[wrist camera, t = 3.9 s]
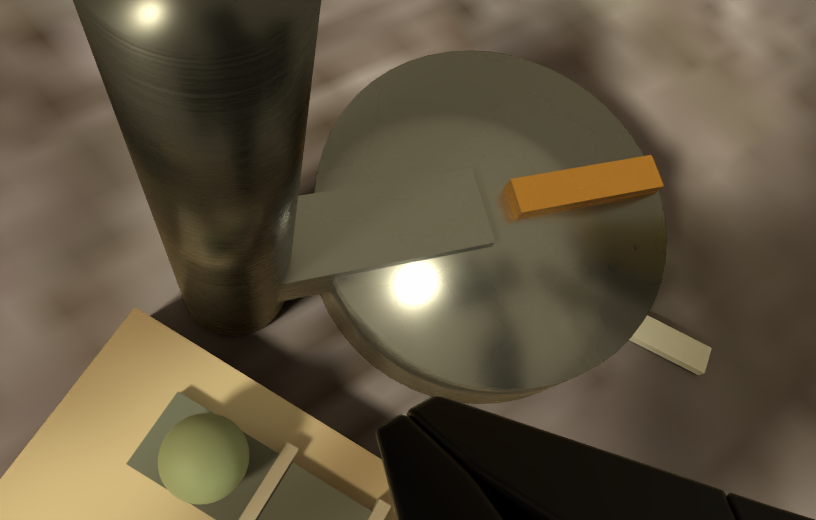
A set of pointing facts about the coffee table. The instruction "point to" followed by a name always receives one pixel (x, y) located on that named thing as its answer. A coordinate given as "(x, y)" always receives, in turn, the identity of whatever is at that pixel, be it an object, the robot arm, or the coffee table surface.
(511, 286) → the grey piece
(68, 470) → the stand
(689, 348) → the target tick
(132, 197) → the coffee table surface
